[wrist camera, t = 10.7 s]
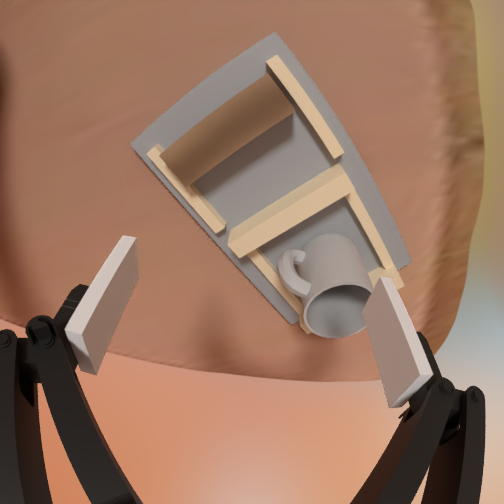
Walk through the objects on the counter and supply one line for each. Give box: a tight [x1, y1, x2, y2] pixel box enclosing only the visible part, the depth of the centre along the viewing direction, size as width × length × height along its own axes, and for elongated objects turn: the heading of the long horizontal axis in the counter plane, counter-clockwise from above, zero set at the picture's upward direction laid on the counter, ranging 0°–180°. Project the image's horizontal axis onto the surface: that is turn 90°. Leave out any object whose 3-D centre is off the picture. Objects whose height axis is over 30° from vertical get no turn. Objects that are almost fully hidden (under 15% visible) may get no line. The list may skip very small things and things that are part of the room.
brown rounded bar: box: [159, 73, 296, 188], centre depth 26 cm, size 4×12×3 cm, turn 126°
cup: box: [278, 233, 374, 338], centre depth 31 cm, size 7×10×9 cm
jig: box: [130, 32, 412, 334], centre depth 31 cm, size 30×18×4 cm, turn 36°
